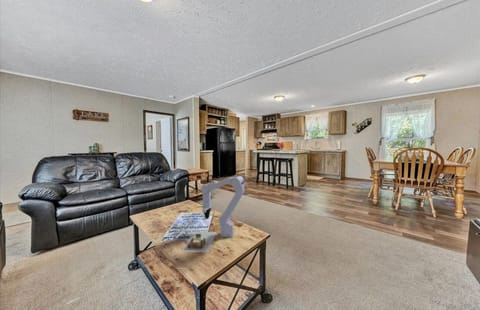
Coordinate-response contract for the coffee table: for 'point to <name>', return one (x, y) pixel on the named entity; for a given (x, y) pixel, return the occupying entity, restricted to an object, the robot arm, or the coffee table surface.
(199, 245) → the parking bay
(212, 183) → the robot arm
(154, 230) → the coffee table surface
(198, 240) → the cart
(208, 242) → the dock board
